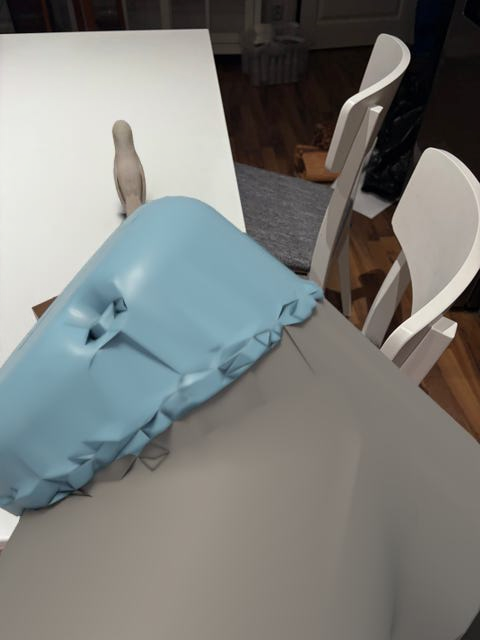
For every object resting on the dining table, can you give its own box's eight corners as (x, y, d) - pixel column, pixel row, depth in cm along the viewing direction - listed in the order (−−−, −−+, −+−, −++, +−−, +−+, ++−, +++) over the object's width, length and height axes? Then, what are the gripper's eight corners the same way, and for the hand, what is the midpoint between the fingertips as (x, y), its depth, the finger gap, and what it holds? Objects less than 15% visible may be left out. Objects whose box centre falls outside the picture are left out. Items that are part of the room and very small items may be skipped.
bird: (146, 190, 94) (134, 109, 83) (154, 237, 86) (142, 153, 75) (118, 193, 94) (103, 112, 83) (124, 241, 85) (107, 156, 74)
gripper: (110, 803, 20) (49, 585, 39) (496, 448, 30) (299, 412, 50) (15, 645, 19) (0, 500, 38) (448, 333, 29) (266, 341, 48)
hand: (169, 450), depth 44 cm, fingers open, 13 cm apart
